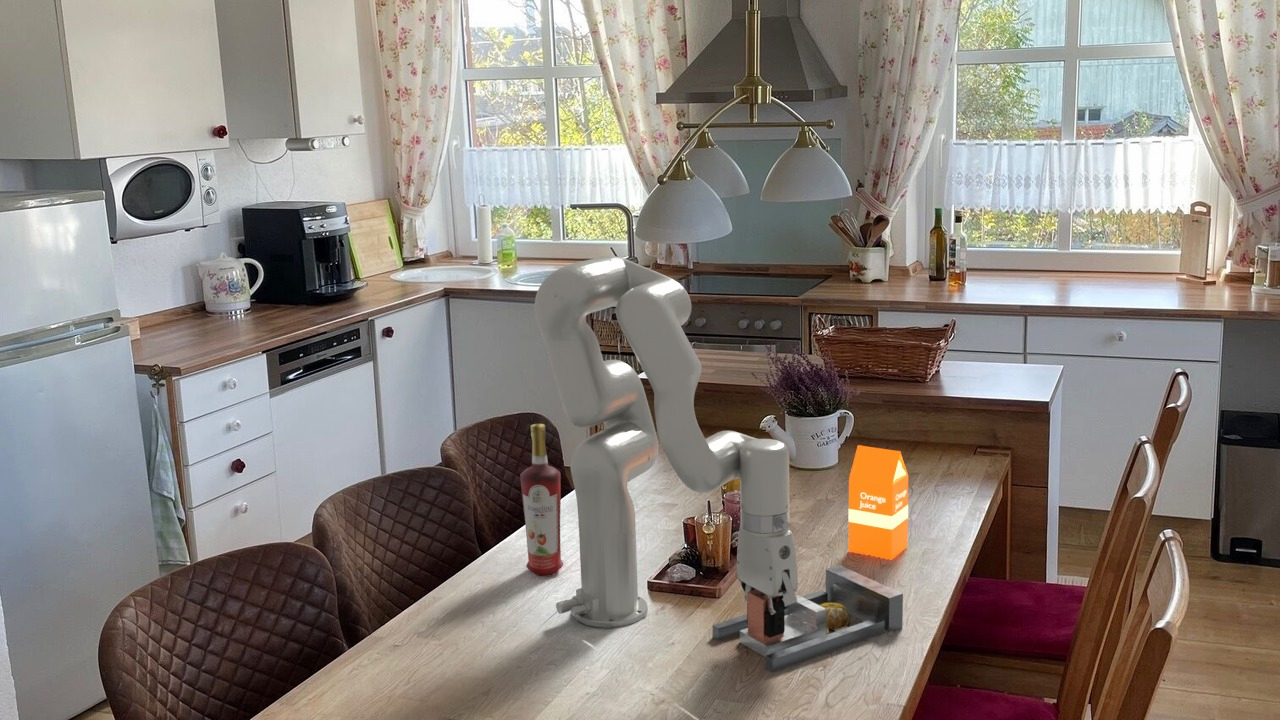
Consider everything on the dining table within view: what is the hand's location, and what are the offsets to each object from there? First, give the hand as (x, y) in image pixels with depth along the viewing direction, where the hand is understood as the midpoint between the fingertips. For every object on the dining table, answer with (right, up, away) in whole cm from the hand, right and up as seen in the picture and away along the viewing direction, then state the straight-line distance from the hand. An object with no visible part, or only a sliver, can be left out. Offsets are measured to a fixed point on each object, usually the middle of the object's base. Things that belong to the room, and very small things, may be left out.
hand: (765, 628), depth 195 cm
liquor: (-37, +3, +34) cm, 51 cm away
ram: (+3, -2, +3) cm, 5 cm away
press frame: (+7, -2, +5) cm, 9 cm away
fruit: (+11, -2, +7) cm, 13 cm away
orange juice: (+25, +6, +40) cm, 48 cm away
